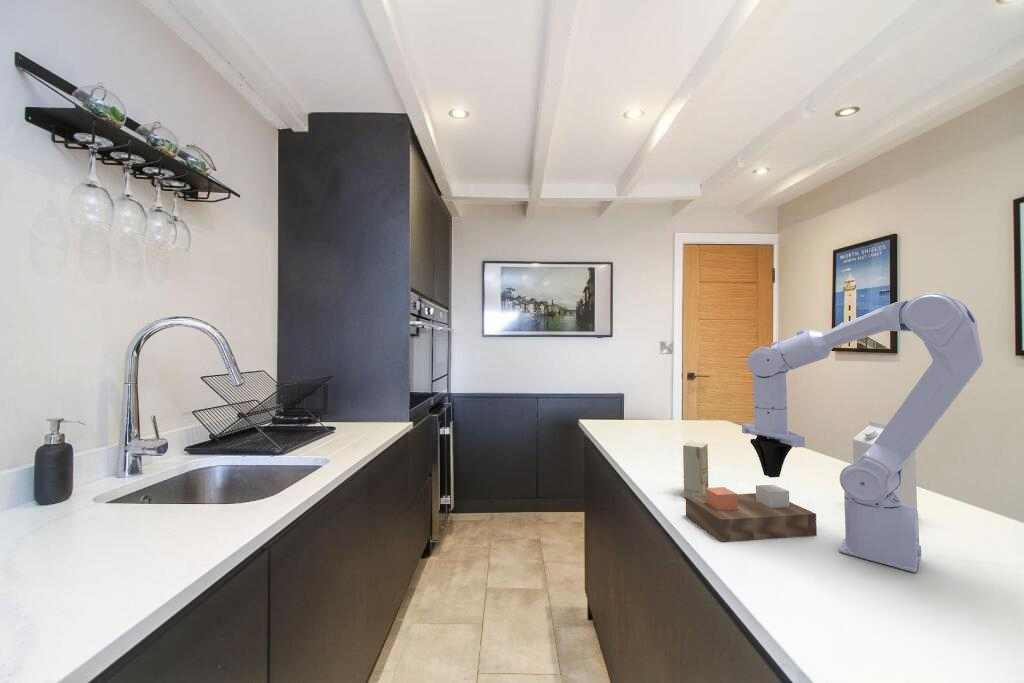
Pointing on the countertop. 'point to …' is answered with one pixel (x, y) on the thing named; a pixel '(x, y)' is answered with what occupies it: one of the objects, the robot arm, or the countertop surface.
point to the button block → (751, 520)
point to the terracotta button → (721, 499)
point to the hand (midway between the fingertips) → (771, 476)
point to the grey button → (772, 496)
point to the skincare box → (695, 469)
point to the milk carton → (908, 483)
